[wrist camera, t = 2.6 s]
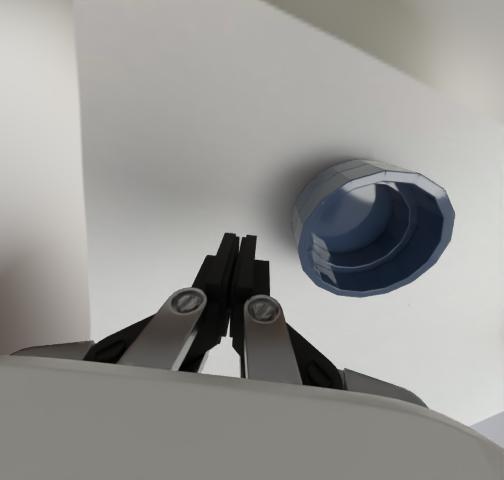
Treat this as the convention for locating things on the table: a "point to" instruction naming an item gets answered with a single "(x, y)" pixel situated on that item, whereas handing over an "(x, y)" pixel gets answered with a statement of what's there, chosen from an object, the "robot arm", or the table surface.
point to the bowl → (370, 227)
